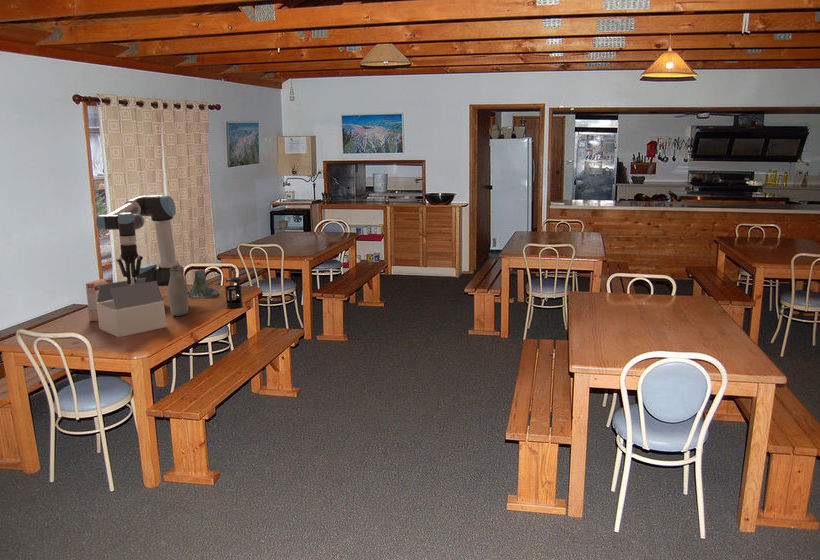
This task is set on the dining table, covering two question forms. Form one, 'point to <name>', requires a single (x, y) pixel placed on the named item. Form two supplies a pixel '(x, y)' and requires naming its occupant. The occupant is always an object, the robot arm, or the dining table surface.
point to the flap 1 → (105, 288)
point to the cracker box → (94, 297)
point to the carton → (130, 318)
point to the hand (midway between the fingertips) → (132, 289)
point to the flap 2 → (136, 294)
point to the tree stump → (201, 287)
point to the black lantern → (233, 303)
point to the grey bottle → (178, 291)
